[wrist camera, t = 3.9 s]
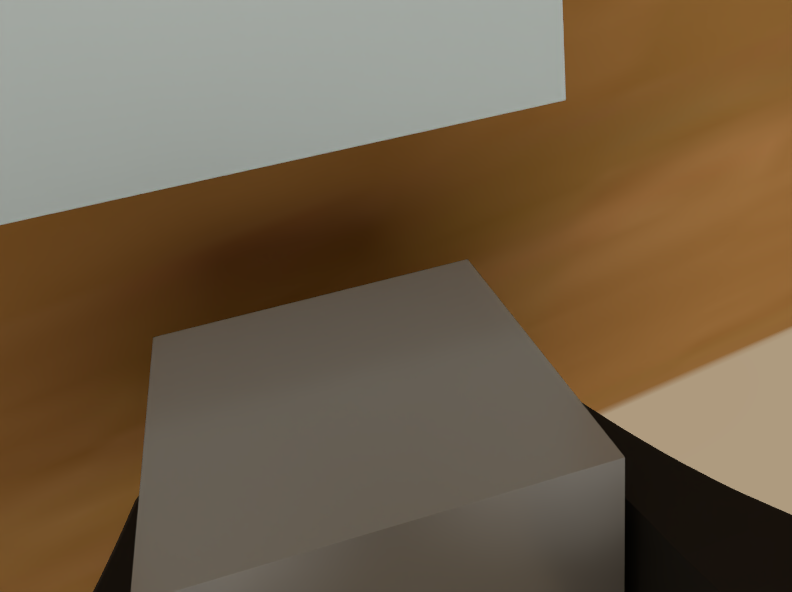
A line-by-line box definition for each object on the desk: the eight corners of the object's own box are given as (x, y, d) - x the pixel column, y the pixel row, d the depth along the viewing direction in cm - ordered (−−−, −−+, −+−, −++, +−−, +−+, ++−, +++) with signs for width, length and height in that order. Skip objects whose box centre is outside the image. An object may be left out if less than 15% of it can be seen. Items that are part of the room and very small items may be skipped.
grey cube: (236, 564, 14) (257, 867, 9) (152, 337, 11) (130, 604, 7) (493, 489, 14) (623, 737, 10) (467, 259, 12) (625, 457, 8)
